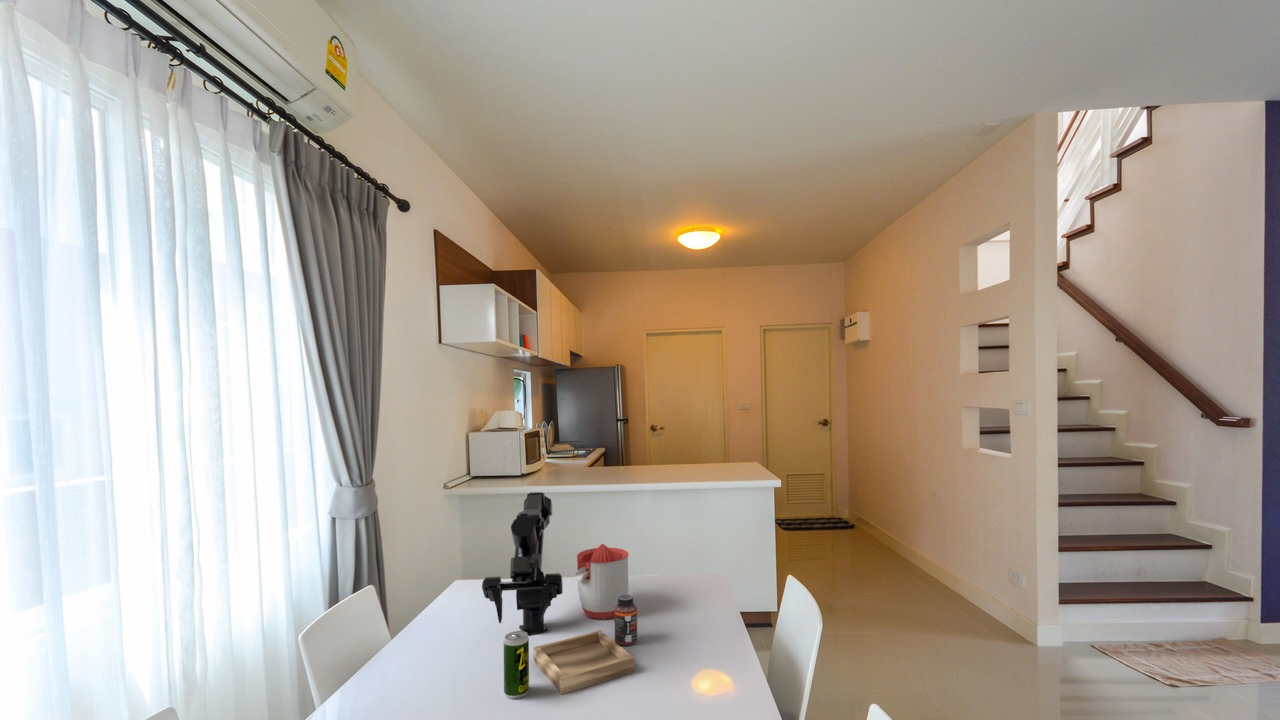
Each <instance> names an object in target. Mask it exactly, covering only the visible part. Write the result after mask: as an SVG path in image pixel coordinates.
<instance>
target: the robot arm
mask: <svg viewBox="0 0 1280 720" xmlns="http://www.w3.org/2000/svg"><path fill="white" fill-rule="evenodd" d="M523 500H524V501H523V510H522V511H520V512H518V513H517V515H516V518H515V519H513V522H512V523H511V524H510V530H511V535H512V542H513V545H514V546H515V549H514V557H511V558H510V572H509V578H510V579H511V581H502V578H501V576H487V577H485V578H484V579H483V580H482V585H481V588H482V589H481V590H482V592H483V596H484V598H485V599H488V600H489V601H490V602H492V603H493V602H494V605H495V609H496V612H497V614H496V615H497V619H498V624H502V620H503V596H502V595H503V592H504V591H507V592H508V591H516V593H515V598H516V600H515V601H516V610H517V611H521V610H522V624H521V625H519V626H518V628H519V629H520V630H519V631H524V632H527V634H528V636H530V635H534V634H538V633H542V632H547V631H549V627H548V626H547V625H546V624H545V617H544V616H545V613H546V611H547V609H548V608H549V607H552V601H553V599H555V598H556V599H557V597H558V595H561V594H562V595H563V588H564V587H563V586H564V585H563V576H562V574H561V573H560V572H559V573H556V572H555V573H546V574H545V573H544V571H542V569H543V568H542V566H543V555H544V554H543V553H544V552H543V550H544V536H545V533H544V532H545V529H546V528H547V527H548V526H549V525H550V522H551V521H550V518H551V517H552V516H553V504H552V503H553V502H552V499H551V498H549V497H548V496H546V495H545V492H542V491H540V492H539V491H538V492H537V491H536V492H529V493H527V495H526V498H525V499H523Z"/></svg>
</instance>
